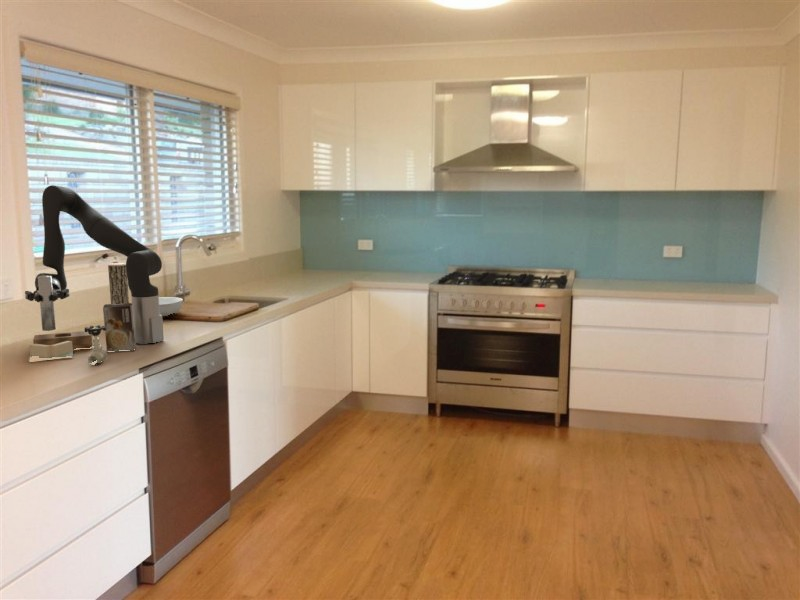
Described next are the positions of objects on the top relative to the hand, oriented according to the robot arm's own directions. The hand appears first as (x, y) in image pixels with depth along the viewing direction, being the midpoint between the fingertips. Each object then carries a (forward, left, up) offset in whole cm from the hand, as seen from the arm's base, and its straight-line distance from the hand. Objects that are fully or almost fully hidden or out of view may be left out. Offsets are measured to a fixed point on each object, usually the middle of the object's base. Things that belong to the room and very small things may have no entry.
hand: (45, 298), depth 223 cm
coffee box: (-15, -16, -20) cm, 30 cm away
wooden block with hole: (+5, -11, -20) cm, 23 cm away
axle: (+2, -2, -11) cm, 11 cm away
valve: (-20, +1, -20) cm, 29 cm away
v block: (+1, -1, -20) cm, 20 cm away
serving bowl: (+11, -71, -20) cm, 75 cm away
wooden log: (+14, -51, -20) cm, 56 cm away
